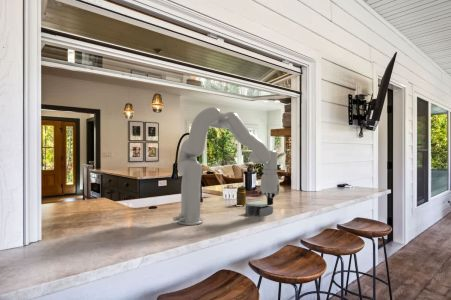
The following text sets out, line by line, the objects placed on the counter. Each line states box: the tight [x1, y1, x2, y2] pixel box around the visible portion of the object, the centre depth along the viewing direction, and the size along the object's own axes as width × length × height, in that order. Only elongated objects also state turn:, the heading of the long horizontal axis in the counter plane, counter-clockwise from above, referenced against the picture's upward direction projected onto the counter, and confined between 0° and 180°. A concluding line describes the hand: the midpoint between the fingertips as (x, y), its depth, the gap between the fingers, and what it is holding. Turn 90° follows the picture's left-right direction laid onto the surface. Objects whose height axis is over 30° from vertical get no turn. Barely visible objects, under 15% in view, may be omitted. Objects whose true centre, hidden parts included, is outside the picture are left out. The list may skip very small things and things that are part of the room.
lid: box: [245, 200, 269, 207], centre depth 170 cm, size 12×11×1 cm
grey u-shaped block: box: [245, 205, 274, 218], centre depth 170 cm, size 12×11×5 cm
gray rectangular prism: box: [251, 206, 267, 216], centre depth 170 cm, size 8×3×5 cm, turn 126°
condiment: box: [236, 186, 247, 205], centre depth 196 cm, size 7×8×12 cm
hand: (270, 204), depth 165 cm, fingers closed
